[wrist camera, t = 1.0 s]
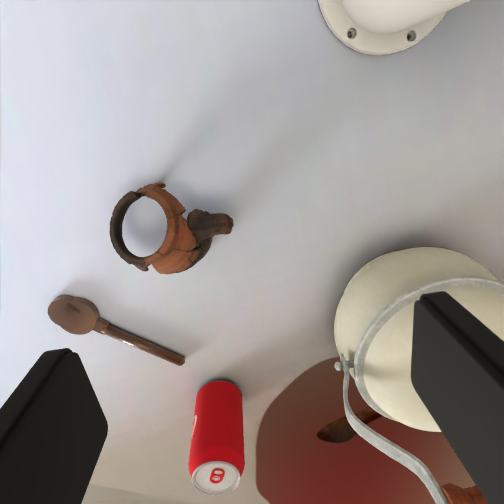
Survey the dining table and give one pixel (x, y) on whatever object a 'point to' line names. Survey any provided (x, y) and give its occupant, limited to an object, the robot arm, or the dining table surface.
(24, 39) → the dining table surface
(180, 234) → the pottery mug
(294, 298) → the dining table surface
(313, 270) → the dining table surface
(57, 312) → the spoon
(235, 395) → the beverage can
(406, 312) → the kettle
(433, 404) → the robot arm
